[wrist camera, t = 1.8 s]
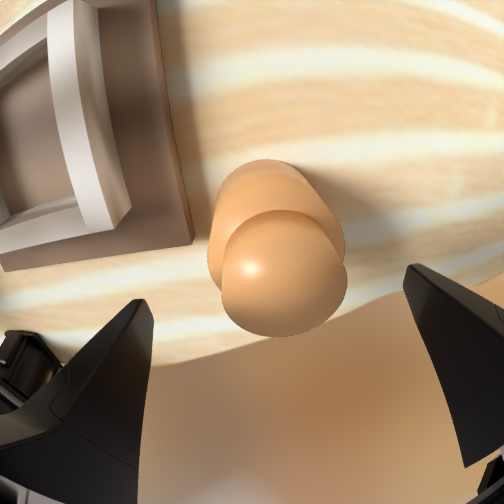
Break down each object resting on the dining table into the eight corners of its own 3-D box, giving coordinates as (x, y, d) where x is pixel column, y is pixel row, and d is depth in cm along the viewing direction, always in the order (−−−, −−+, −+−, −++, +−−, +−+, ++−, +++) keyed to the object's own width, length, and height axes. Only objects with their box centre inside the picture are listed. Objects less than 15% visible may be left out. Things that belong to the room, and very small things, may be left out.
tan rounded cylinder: (313, 243, 16) (353, 335, 10) (224, 254, 16) (219, 353, 10) (311, 155, 13) (373, 210, 7) (208, 166, 13) (183, 232, 7)
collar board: (194, 233, 15) (184, 272, 12) (12, 263, 15) (-11, 291, 12) (153, -38, 6) (131, -66, 3) (-35, 79, 7) (-67, 87, 4)
